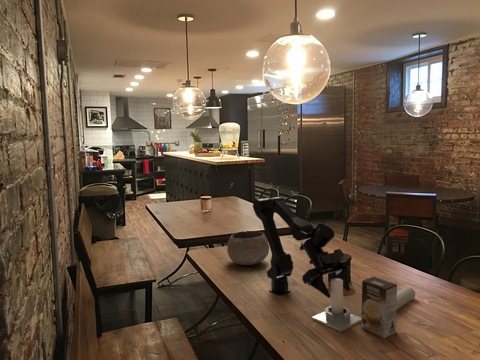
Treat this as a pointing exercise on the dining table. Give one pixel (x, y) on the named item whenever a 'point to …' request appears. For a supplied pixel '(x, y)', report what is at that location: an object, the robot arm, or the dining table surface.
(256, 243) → the clay pot
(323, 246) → the robot arm
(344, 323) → the square plate with nut
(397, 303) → the tube
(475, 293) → the dining table surface
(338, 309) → the beige cylinder
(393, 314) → the coffee box
